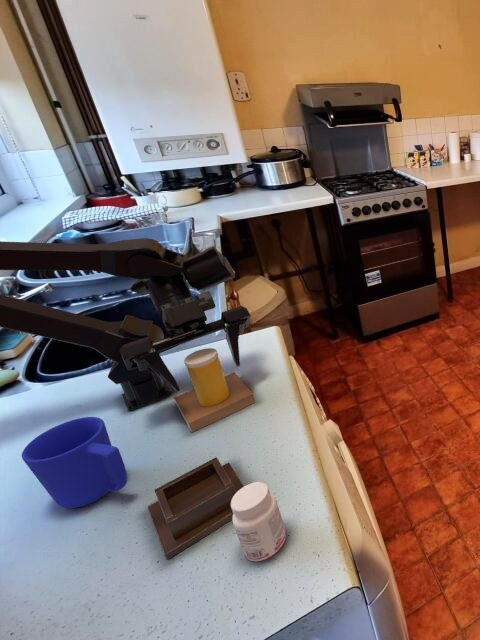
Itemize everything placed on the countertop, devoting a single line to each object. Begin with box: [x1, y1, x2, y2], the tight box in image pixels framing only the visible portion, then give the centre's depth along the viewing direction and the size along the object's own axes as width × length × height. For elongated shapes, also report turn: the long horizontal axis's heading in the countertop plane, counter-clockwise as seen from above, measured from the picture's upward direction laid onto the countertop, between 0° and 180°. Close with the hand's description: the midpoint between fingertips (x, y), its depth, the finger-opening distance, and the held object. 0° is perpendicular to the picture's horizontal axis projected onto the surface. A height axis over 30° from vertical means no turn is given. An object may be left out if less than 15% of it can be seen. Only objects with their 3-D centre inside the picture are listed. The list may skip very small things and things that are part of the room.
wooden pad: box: [173, 371, 256, 433], centre depth 80 cm, size 10×10×2 cm
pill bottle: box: [231, 481, 287, 562], centre depth 54 cm, size 5×5×8 cm
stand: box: [147, 456, 245, 561], centre depth 60 cm, size 10×10×4 cm
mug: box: [21, 416, 128, 509], centre depth 61 cm, size 8×12×10 cm
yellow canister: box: [183, 347, 229, 406], centre depth 77 cm, size 5×5×9 cm
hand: (209, 377), depth 76 cm, fingers open, 9 cm apart
